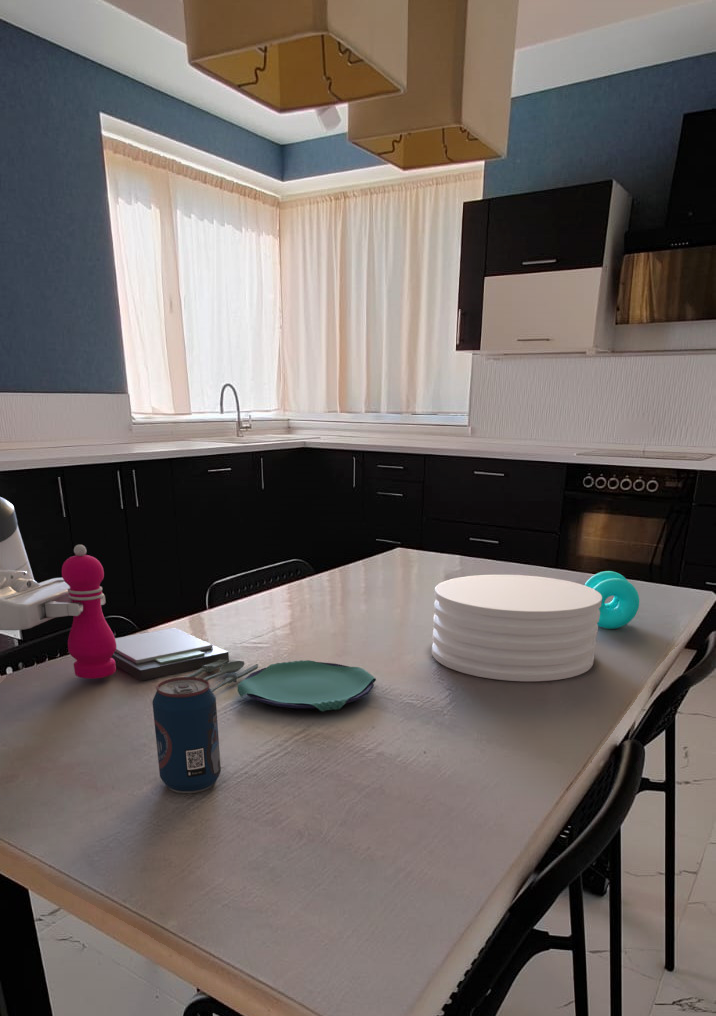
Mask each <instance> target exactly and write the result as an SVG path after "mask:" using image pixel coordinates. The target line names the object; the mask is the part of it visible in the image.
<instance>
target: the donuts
mask: <svg viewBox="0 0 716 1016" xmlns="http://www.w3.org/2000/svg"><path fill="white" fill-rule="evenodd" d="M584 585H585V586H587V587H590V588H592V589H594V590H596V591H598V592H599V593H600V594H601V595H602V603H601V607H600V608H599V610H600V617H599V622H598V623H597V625H598V627H600V628H601V629H602V628H603V629H607V630H613V629H614V630H615V629H619V628H622V627H625V626H626V625H627V624H629V623H630V622H632V620H633V619H634V618H635V616H636V615H637V614H638V611H639V608H640V596H639V592H638V590H637V588H636V587H635V586H634V585H633V584H632V583H631V582H630V581H628V580H627V578H626V577H625V576H624V575H622V574H621V573H619V572H616V571H612V570H605V571H600V572H597V573H595V574H594V575H592V576H591V577H589V579H587V580H586V582H585V584H584ZM609 597H613V598H612V600H611V601H610V602H607V603H606V600H607V599H608V598H609Z"/></svg>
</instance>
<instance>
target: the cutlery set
mask: <svg viewBox="0 0 716 1016" xmlns="http://www.w3.org/2000/svg"><path fill="white" fill-rule="evenodd" d="M227 661H228V660H226V661H225V660H222V661H221V659H220V660H218V661H216V662H213V663H210V664H207V665H202V668H199V669H196V670H195V671H194V672H192V673H189V674H187V675H184V677H196V678H198V676H200V675H201V674H202V673H204V672H205V673H210V672H213V671H215V670H216V669H218V668H219V670H220V672H217V673H214V674H211V675H208V676H206V677H203V678H202V679H204V680H206V681H208V682H209V681H211V680H213V679H216V678H217V677H219V676H222V675H225V674H230V675H229V677H226V678H225V679H224V681H223V682H221V683H219V684H218V685H216V686H215V687H213V688H210V689H211V691H212V692H213V693H214V692H215V691H216V690H218V689H219V688H221V687H223V686H226V685H227V684H232V683H237V681H238V680H237V679H240V678H243V677H245V676H246V677H245V678H244V679H243V680H241V681H240V682H239V683H238V685H237V693H238V695H239V696H240V698H241V699H242V700H243V701H245V700H244V698H243V697H244V696H245V695H247V696H248V697H250V698H252V699H253V700H255V701H258V702H260V703H263V704H267V705H271V706H275V707H281V708H290V709H318V710H319V711H320V712H325V711H332V710H335V711H337V710H340V709H342V708H343V706H344V705H346V704H348V703H353V702H355V701H358V700H360V699H362V698H363V697H365V696H367V695H368V694H370V692H371V691H372V689H373V688H374V683H375V682H376V681H377V679H376V677H374V675H373V674H371V673H370V672H368V671H367V670H366V669H364V668H362V667H359V666H349V665H344V664H339V663H334V662H321V661H315V660H309V659H308V660H307V659H305V660H303V659H301V660H294V661H283V662H276V663H272V664H269V665H268V666H267V667H263V668H260V669H258V668H259V664H258V663H255V664H254V665H252V666H249V667H248V668H246V669H245V670H243V671H241V672H239V671H240V670H241V669H242V668H244V666H245V664H246V663H245V661H244V660H234V661H229V662H227ZM257 669H258V670H257ZM237 672H239V673H237ZM233 673H237V674H235V675H234V674H233Z"/></svg>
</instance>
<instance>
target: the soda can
mask: <svg viewBox="0 0 716 1016" xmlns="http://www.w3.org/2000/svg"><path fill="white" fill-rule="evenodd" d="M211 689H212V688H211V687H210V682H209V681H206V680H204V679H203V678H201V677H185V676H179V677H173V678H169V679H165V680H162V681H161V682H159V683H157V685H156V691H155V694H154V696H153V699H152V712H153V722H154V723H153V724H154V731H155V732H154V733H155V743H156V751H157V762H158V771H159V772H158V773H159V777H160V779H161V781H162V782H163V784H164V785H165V786H166V787H167V788H168V790H170V791H172V792H174V793H179V794H195V793H201V792H205V791H207V790H209V789H211V788H212V787H213V786H214V785H215V784H216V782H217V780H218V778H219V777H220V774H221V771H222V767H221V751H220V739H219V724H218V709H217V697H216V695H215V694H214V691H213V692H212V691H211Z"/></svg>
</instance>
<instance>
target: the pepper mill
mask: <svg viewBox="0 0 716 1016" xmlns="http://www.w3.org/2000/svg"><path fill="white" fill-rule="evenodd" d="M73 553H74V555H73V556H70V557H68V558H67V559H66V560H65V561H64V562H63V564H62V566H61V578H63V579H64V581H65V582H66V583H67V584H68V585H69V587H70V588H69V589H68V592H69V596H68V597H69V598H70V599H72V602H81V603H82V604H83V609H84V613H83V614H80V615H78V616H73V619H72V624H71V628H70V630H69V634H68V639H67V650H68V653H69V655H70V656H71V657H72V658H74V659H75V660H76V661H74V662H73V670H74V675H75V676H76V677H78V678H81V679H89V680H90V679H101V678H107V677H109V676H112V675H114V674H115V673H116V671H117V666H116V665H115V660H114V659H113V658H111V656H112V655H113V654H114V652H115V650H116V641H115V638H116V637H115V635H114V632H113V631H112V629H111V627H110V625H109V623H108V622H107V620H106V619H105V616H104V613H103V609H102V605H101V597H102V596H103V594H104V593H103V586H101V584H102V581H103V580H104V577H105V571H104V567H103V565H102V563H101V562H100V560H98V559H97V558H96V557H94V556H93V555H92V556H91V555H88V554H87V547H86V546H85V545H83V544H76V545H75V546H74V548H73Z"/></svg>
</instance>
